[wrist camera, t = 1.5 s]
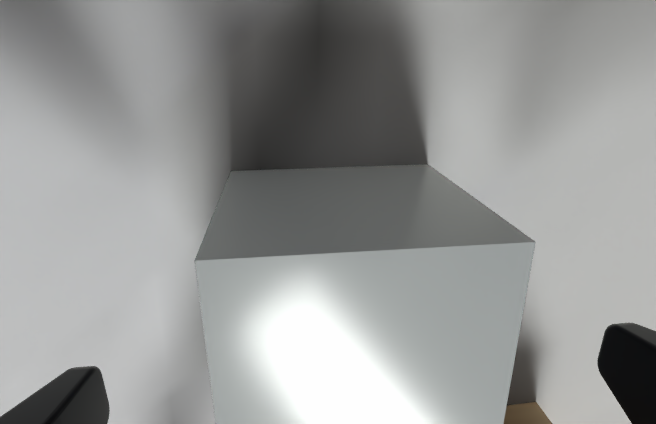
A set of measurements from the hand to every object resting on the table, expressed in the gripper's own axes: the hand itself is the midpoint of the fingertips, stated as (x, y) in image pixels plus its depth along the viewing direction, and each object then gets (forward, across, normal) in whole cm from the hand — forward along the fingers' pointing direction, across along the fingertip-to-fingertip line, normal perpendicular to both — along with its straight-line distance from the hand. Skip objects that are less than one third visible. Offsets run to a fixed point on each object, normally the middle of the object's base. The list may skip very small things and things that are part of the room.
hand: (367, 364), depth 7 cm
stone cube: (+4, 0, 0) cm, 5 cm away
